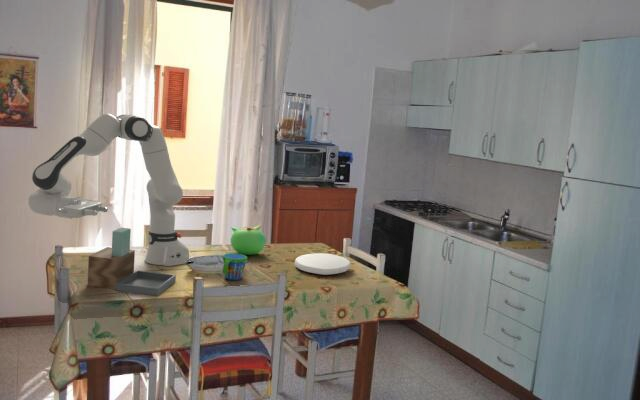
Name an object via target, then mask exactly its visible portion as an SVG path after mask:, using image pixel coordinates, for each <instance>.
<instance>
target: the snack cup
mask: <svg viewBox="0 0 640 400" xmlns="http://www.w3.org/2000/svg"><path fill="white" fill-rule="evenodd" d="M221 258H222V260H223V267H222V274H223V275H224V278H225V279H227V280H230V281H239V280H241V279H243V277H244V275H243V274H244V270H245V267H246V262H247V261H248V255H245V254H241V253H233V252H232V253H225V254H222V257H221Z"/></svg>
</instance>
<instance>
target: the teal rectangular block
mask: <svg viewBox="0 0 640 400" xmlns="http://www.w3.org/2000/svg"><path fill="white" fill-rule="evenodd" d="M131 232H132V231H131V228H130V227H120V228H117V229H115V230H112V233H111V235H112V237H111V239H112V240H111V248H112V256H117V257H122V256H124V255H126V254H128V253H130V250H131V235H132V234H131Z"/></svg>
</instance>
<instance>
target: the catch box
mask: <svg viewBox="0 0 640 400" xmlns="http://www.w3.org/2000/svg"><path fill="white" fill-rule="evenodd" d="M176 279H177V275H176V274H170V273H163V272H162V273H160V272H156V271H155V272H154V271H147V270H146V271H145V270H139V269H138V270H134V272H133V273H132V274H130V275H129V276H127V277H125V278H124V279H122V280H121V281H119V282H117V283H116V289H115V291H116V292H123V293H132V294H137V295H138V294H139V295H146V296H153V297H154V296H155V297H159V296H160V295H161V294H163V293H164V291H166V290H167V289H168V288H170V287H172V285H174V284H175V283H176V282H177V281H176Z"/></svg>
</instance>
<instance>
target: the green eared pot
mask: <svg viewBox="0 0 640 400" xmlns="http://www.w3.org/2000/svg"><path fill="white" fill-rule="evenodd" d="M261 228H262V225H257V226H255V227H250V226H249V227H248V226H247V227H242V228H238V227H234V226H232V227H231V228H230V229H231V230H232V232H233V233H232V234H231V237H230V246H231V247H232V249H233V250H234V251H235V252H237V254H242V255H245V256H252V255H257V254H259V253H261V252H262V251H264V249H265V247H266V244H267V240H266V236H265V234H264V233H263V232H262V231H261Z"/></svg>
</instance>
